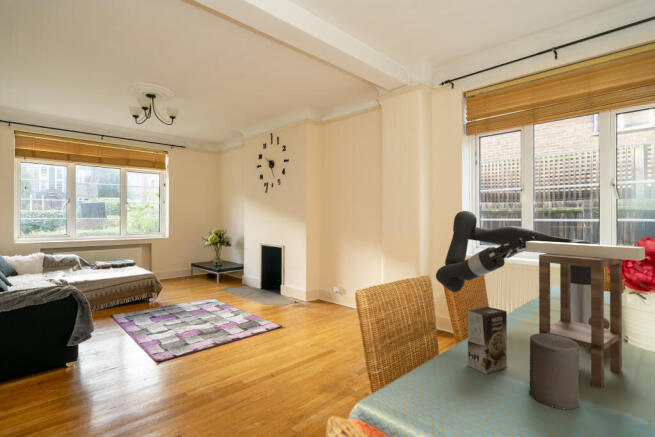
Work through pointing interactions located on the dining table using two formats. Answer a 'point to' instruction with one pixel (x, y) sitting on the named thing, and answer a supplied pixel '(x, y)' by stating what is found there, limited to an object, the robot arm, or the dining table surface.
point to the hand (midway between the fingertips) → (529, 240)
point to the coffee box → (487, 339)
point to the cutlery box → (587, 250)
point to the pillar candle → (554, 370)
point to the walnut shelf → (594, 333)
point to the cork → (606, 326)
